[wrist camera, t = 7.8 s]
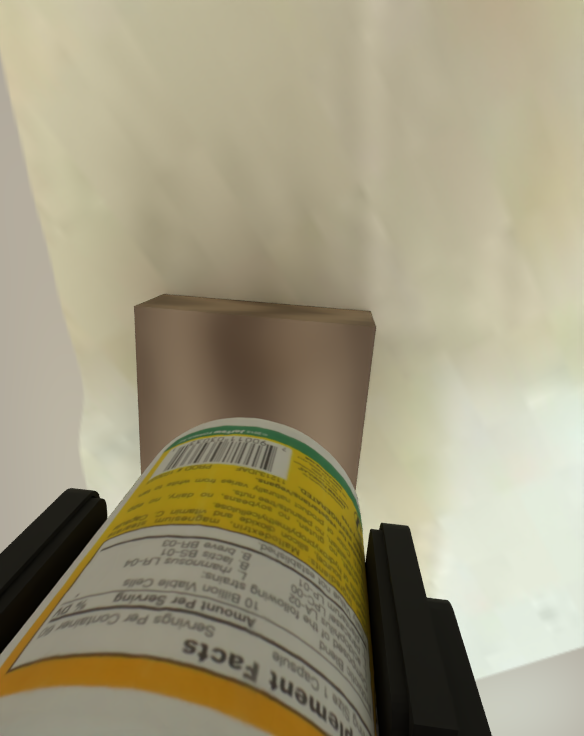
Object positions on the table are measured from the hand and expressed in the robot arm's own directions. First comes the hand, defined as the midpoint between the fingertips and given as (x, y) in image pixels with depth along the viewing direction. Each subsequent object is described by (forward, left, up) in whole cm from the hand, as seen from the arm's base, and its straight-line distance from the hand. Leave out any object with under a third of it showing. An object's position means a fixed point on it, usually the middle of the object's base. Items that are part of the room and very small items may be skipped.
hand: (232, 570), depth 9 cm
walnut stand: (+2, +4, -18) cm, 19 cm away
